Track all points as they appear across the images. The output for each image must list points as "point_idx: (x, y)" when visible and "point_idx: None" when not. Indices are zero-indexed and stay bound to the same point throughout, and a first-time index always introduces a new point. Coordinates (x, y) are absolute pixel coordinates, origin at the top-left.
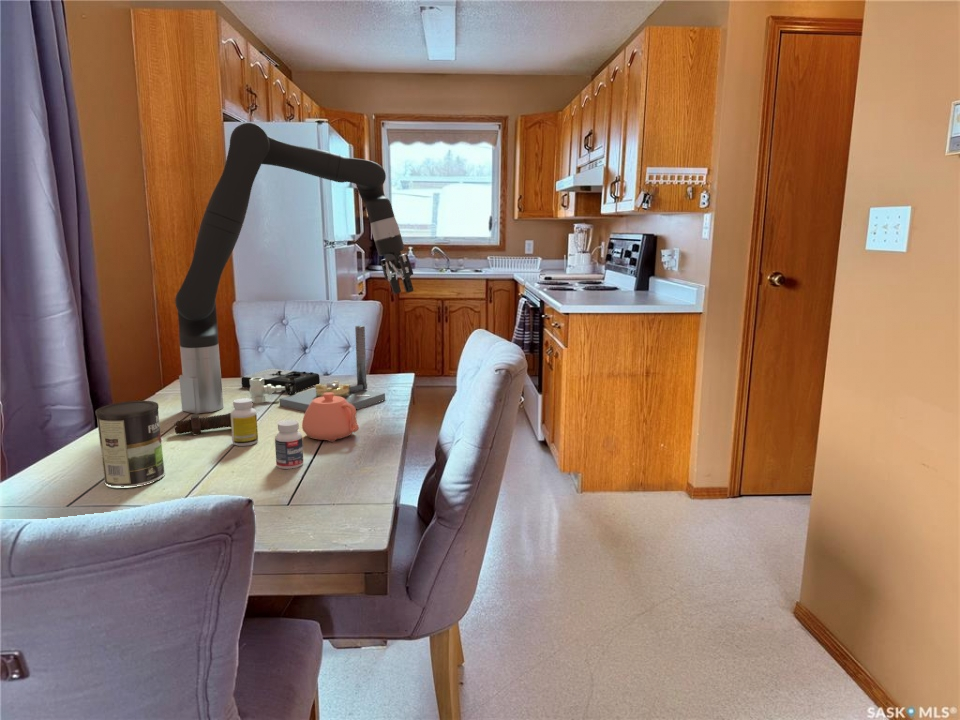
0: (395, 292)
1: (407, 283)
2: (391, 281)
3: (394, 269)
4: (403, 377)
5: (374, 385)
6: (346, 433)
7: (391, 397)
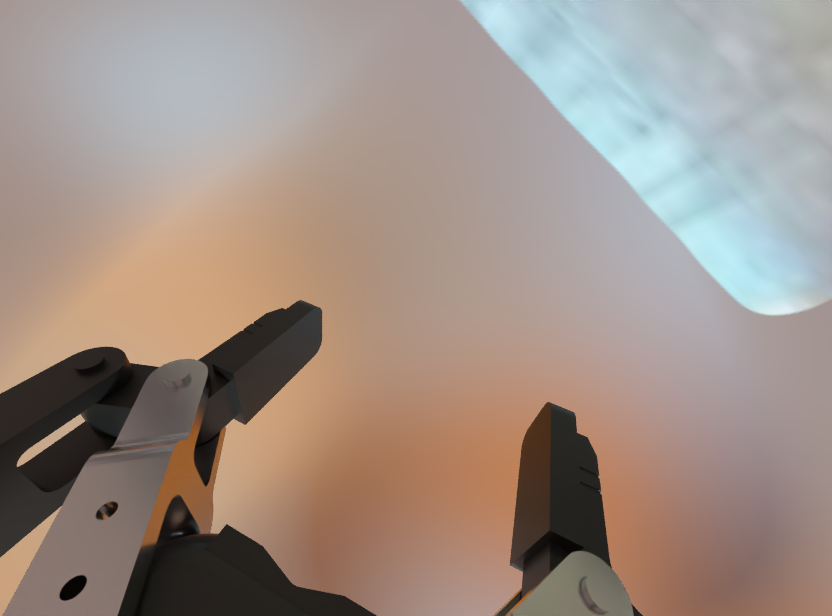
0: (543, 414)
1: (231, 343)
2: (562, 550)
3: (122, 549)
4: (738, 281)
5: (801, 121)
6: None
7: (580, 50)
